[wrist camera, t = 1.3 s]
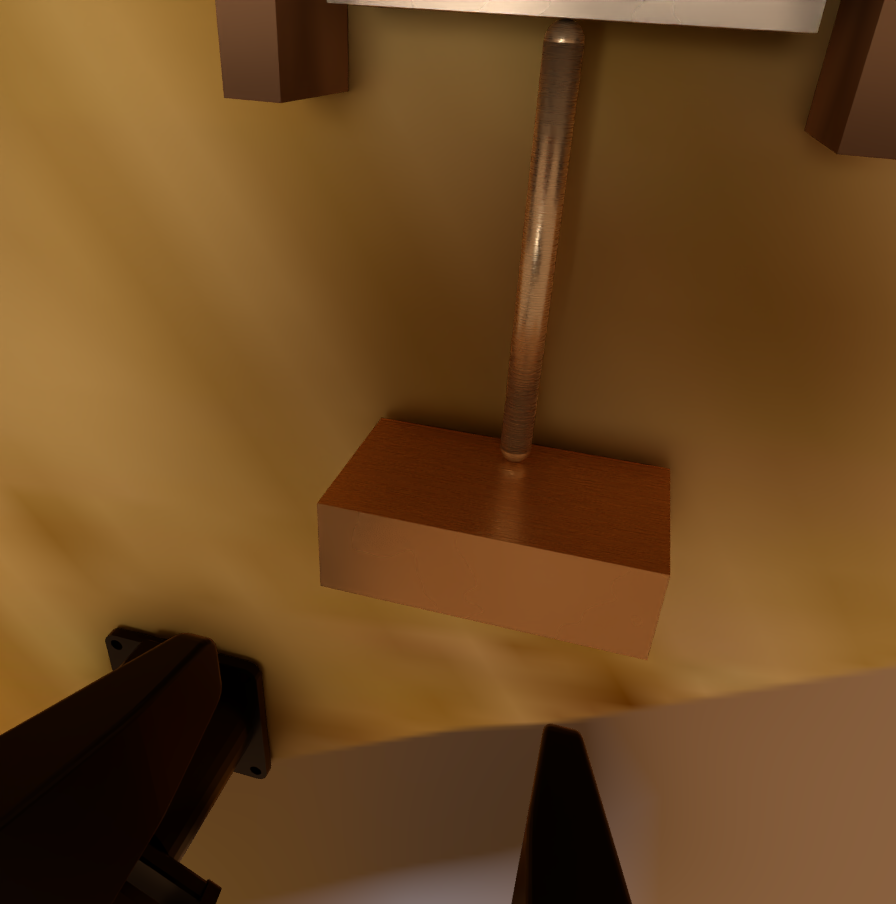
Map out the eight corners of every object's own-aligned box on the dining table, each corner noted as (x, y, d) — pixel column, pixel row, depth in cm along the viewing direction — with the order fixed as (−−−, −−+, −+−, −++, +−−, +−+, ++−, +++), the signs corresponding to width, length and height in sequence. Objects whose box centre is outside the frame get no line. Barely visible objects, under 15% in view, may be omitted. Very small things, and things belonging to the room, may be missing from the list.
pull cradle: (662, 546, 20) (660, 662, 17) (371, 489, 22) (309, 583, 18) (989, -715, 10) (1195, -1198, 6) (374, -643, 11) (226, -982, 8)
